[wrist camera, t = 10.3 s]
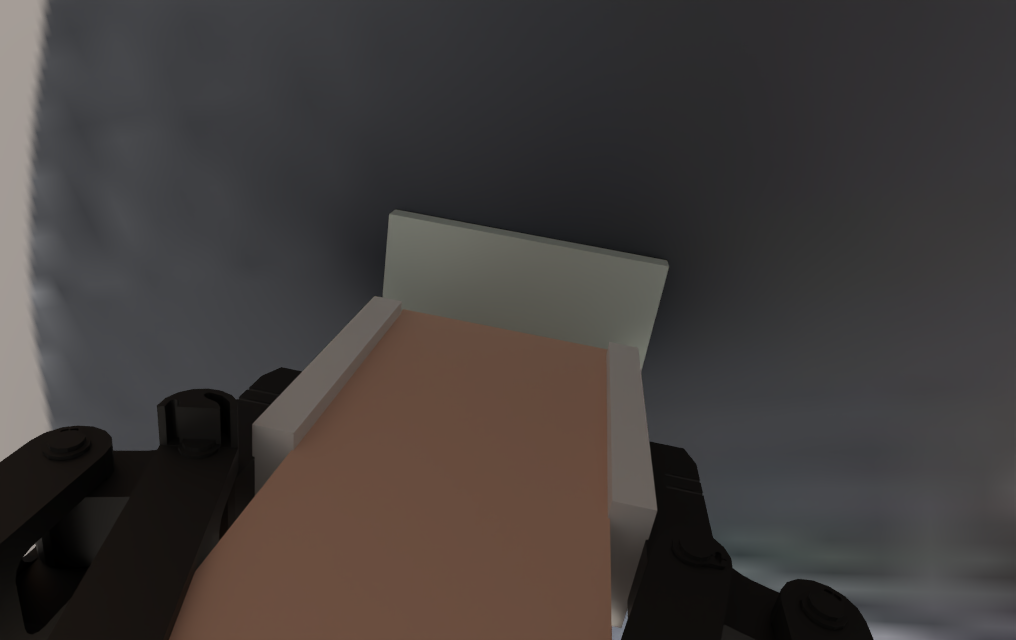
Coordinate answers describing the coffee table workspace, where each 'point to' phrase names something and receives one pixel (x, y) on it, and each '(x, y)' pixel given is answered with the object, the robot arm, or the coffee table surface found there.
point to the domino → (430, 502)
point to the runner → (522, 281)
